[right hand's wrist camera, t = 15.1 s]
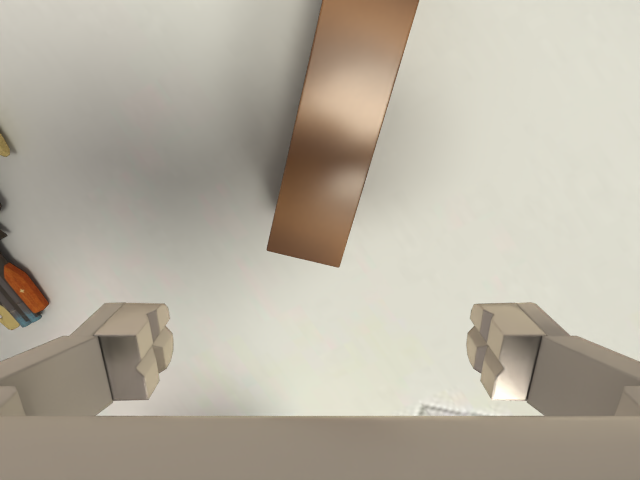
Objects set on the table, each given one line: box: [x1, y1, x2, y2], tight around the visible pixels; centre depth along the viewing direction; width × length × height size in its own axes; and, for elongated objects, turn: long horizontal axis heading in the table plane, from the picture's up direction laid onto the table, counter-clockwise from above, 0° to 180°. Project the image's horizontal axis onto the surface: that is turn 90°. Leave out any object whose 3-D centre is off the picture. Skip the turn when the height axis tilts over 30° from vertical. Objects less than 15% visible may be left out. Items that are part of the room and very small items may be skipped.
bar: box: [267, 0, 419, 267], centre depth 26 cm, size 22×5×9 cm, turn 166°
